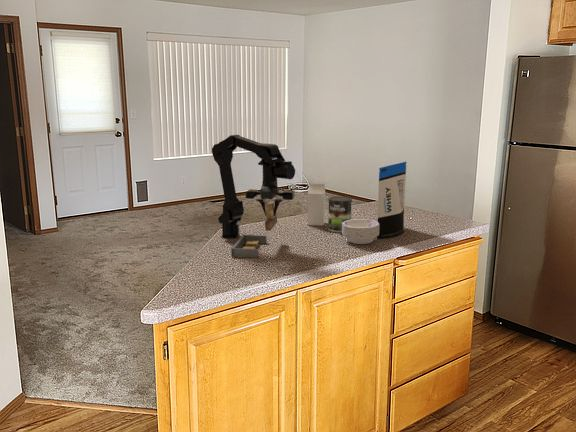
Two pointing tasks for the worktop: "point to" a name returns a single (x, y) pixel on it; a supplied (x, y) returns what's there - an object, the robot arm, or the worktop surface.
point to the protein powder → (391, 200)
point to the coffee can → (338, 212)
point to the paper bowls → (360, 230)
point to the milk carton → (316, 204)
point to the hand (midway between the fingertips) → (270, 215)
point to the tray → (242, 252)
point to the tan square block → (252, 244)
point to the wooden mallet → (270, 216)
